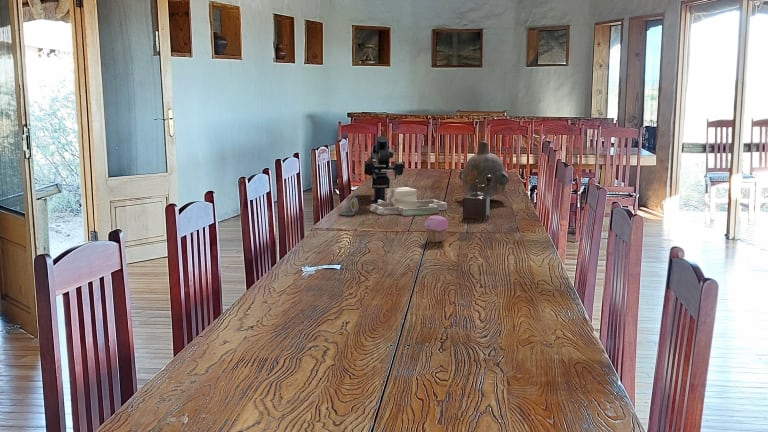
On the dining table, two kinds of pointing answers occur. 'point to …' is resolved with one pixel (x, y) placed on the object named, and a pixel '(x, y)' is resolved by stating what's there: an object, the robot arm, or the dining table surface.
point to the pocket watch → (353, 207)
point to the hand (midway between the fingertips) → (386, 177)
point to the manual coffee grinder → (477, 202)
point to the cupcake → (436, 228)
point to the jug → (484, 172)
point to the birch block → (402, 197)
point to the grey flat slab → (422, 205)
